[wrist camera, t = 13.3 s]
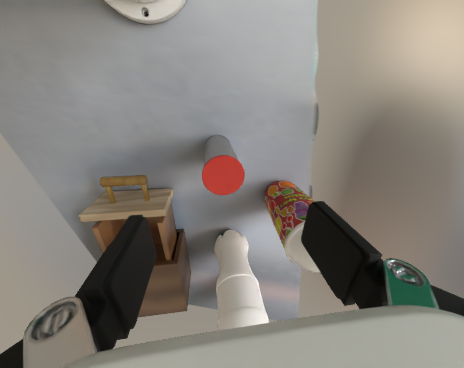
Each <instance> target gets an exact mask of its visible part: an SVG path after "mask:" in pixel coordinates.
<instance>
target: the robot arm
mask: <svg viewBox="0 0 464 368" xmlns="http://www.w3.org/2000/svg"><path fill="white" fill-rule="evenodd" d="M104 1H105V2H106V3H107V4H108V5H110V6H111V7H112V8H113V9H115V10H116V11H117V12H118V13H120V14H121V15H123V16H125V17H127V18H129V19H130V20H133V21H137V22H140V23H146V24H154V23H161V22H163V21H166V20H168V19H170V18H171V17H173V16H174V15H175V14H177V13H178V12H179V10H180V9H181V8H182V7H183V5H184V4H185V2H186V0H104ZM146 13H148V14H149V15H148V17H145V14H146ZM301 242H302V244H303V246H304V248H305V249H306V251H307V252H308V254H309V255H310V257H311V258H312V260H313V262H314V263H315V265H316V266H317V268H318V269H319V271H320V272H321V274H322V275H323V277H324V278H325V280H326V282H327V283H328V285H329V286H330V288H331V290H332V291H333V293H334V294H335V296H336V297H337V298H339V299H340V300H341V301H342V303H343V304H344V305H345V306H346V305H353V304H355V303H356V304H357V306H358V307H359V310H351V311H344V312H338V313H330V314H324V315H317V316H310V317H303V318H297V319H290V320H284V321H277V322H271V323H264V324H258V325H251V326H245V327H238V328H232V329H225V330H219V331H213V332H206V333H200V334H194V335H188V336H181V337H175V338H169V339H163V340H158V341H152V342H146V343H141V344H135V345H130V346H124V347H119V348H115V349H113V347H114V346H115V343H116V341H117V340H120V339H126V338H127V337H128V334H129V331H130V329H133V328H134V326H135V324H136V321H137V318H138V315H139V311H140V308H141V305H142V302H143V299H144V296H145V292H146V289H147V286H148V283H149V280H150V276H151V273H152V270H153V267H154V264H155V261H156V255H157V254H156V249H155V246H154V242H153V238H152V235H151V231H150V228H149V224H148V221H147V218H146V217H143V215H130V216H129V217H128V219H127V220H126V222H125V223H124V225H123V226H122V228H121V229H120V231H119V232H118V234H117V235H116V237H115V239H114V240H113V242H112V243H110V244H109V246H108V247H107V248H106V250H105V251H104V253H103V254H102V256H101V258H100V259H99V261H98V262H97V264H96V265H95V267H94V268H93V270H92V271H91V273H90V274H89V276H88V277H87V279H86V280H85V282H84V283H83V285H82V286H81V288H80V289H79V291H78V292H77V294H76V295H75V297H66V298H63V299H60V300H58V301H56V302H54V303H52V304H51V305H50V306H48V307H46V308H45V309H43V310H42V311H41V312H40V313H39V314H38V315H37V316H36V317H35V318H34V319H33V320H32V321H31V322H30V324H29V325H28V327H27V329H26V330H25V333H24V337H23V339H22V340H21V341H19V342H18V343H16V344H15V345H13V346H12V347H10V348H9V349H7V350H6V351H4V352H3V353H1V354H0V368H464V299H463V298H460V297H458V296H456V295H454V294H451V293H449V292H446V291H444V290H442V289H439V288H437V287H435V286H432V285H430V283H429V281H428V279H427V278H426V276H425V275H424V274H423V273H422V272H421V271H420V270H418V269H417V268H415V267H414V266H412V265H411V264H409V263H407V262H404V261H402V260H398V259H392V258H390V259H386V260H385V261H383V260H382V259H381V256H382V254H381V253H380V252H379V251H377V250H376V249H375V248H374V247H373V246H372V245H371V244H370V243H369V242H368V241H366V240H365V239H364V238H363V237H362V236H361V235H360V234H359V233H358V232H356V231H355V230H354V229H353V228H352V227H351V226H350V225H349V224H348V223H346V221H344V220H343V219H342V218H341V217H340V216H339V215H338V214H337V213H336V212H334V211H333V210H332V209H331V208H330V207H329V206H328V205H327V204H326V203H325V202H323V201H318V202H312V203H311V204H310V205H309V207H308V211H307V215H306V219H305V223H304V227H303V231H302V235H301Z"/></svg>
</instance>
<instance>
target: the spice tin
mask: <svg viewBox="0 0 464 368" xmlns="http://www.w3.org/2000/svg"><path fill="white" fill-rule="evenodd" d="M244 176H245V174H244V169H243V167H242V165H241V163H240V162H239V161H238V159H237V156H236V154H235V152H234V150H233V148H232V146H231V144H230V142H229V141H228V139H227V138H225V137H224V136H221V135H215V136H212V137H210V138H209V139H208V140H207V142H206V145H205V155H204V168H203V171H202V180H203V183H204V185H205V187H206V188H207V189H208V190H209V191H211V192H212V193H214V194H218V195H228V194H231V193H233V192H235V191H236V190H238V189H239V188H240V186H241V185H242V183H243V181H244Z"/></svg>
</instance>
